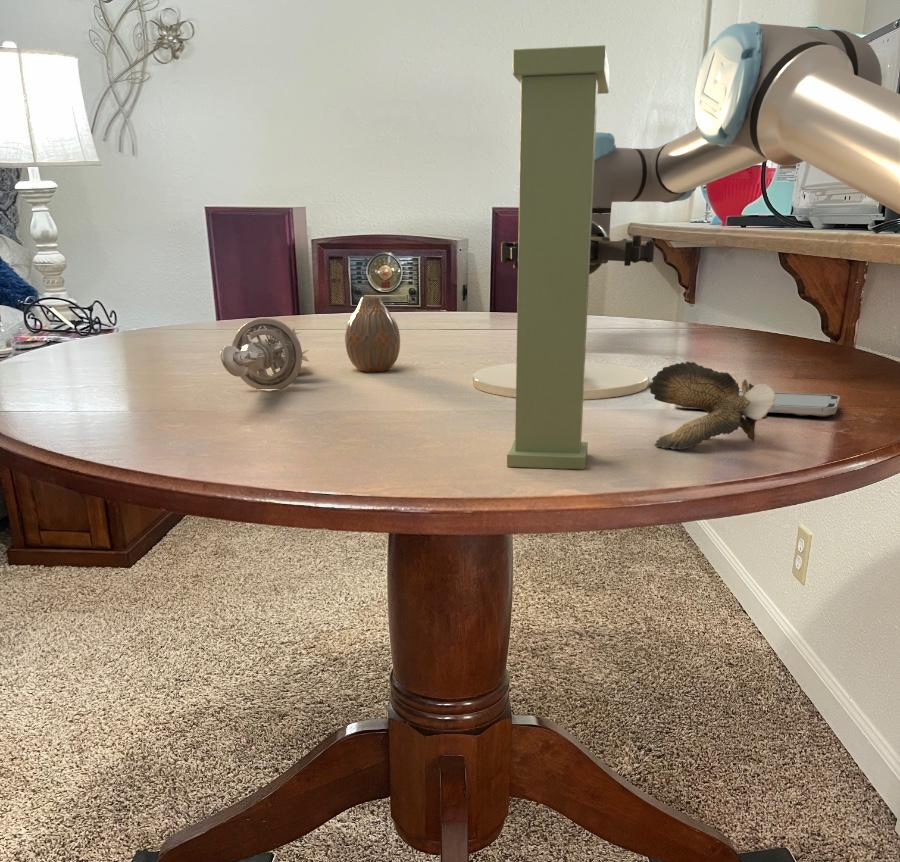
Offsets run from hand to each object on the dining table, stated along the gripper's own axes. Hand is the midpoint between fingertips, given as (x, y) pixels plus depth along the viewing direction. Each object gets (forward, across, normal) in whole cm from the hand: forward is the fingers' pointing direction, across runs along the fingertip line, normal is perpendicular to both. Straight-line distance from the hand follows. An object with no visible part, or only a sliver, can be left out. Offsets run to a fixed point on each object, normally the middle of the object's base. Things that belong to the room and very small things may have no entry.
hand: (572, 254), depth 111 cm
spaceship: (+24, +32, -13) cm, 42 cm away
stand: (+46, -2, -13) cm, 48 cm away
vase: (+8, +24, -13) cm, 29 cm away
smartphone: (+28, -20, -13) cm, 37 cm away
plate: (+16, 0, -13) cm, 21 cm away
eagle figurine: (+43, -14, -14) cm, 47 cm away
